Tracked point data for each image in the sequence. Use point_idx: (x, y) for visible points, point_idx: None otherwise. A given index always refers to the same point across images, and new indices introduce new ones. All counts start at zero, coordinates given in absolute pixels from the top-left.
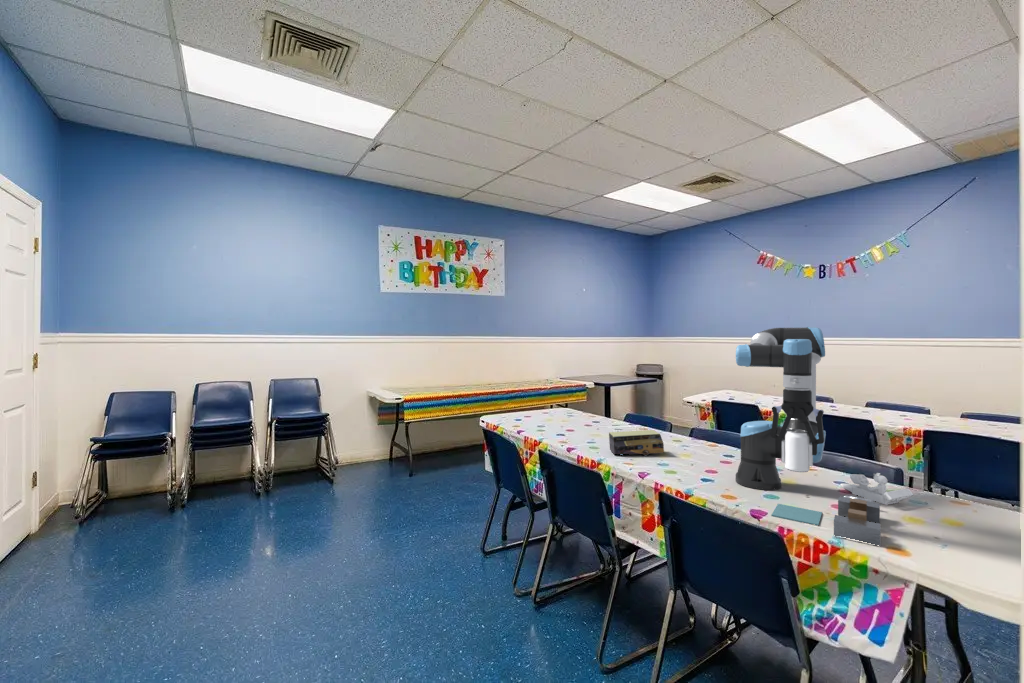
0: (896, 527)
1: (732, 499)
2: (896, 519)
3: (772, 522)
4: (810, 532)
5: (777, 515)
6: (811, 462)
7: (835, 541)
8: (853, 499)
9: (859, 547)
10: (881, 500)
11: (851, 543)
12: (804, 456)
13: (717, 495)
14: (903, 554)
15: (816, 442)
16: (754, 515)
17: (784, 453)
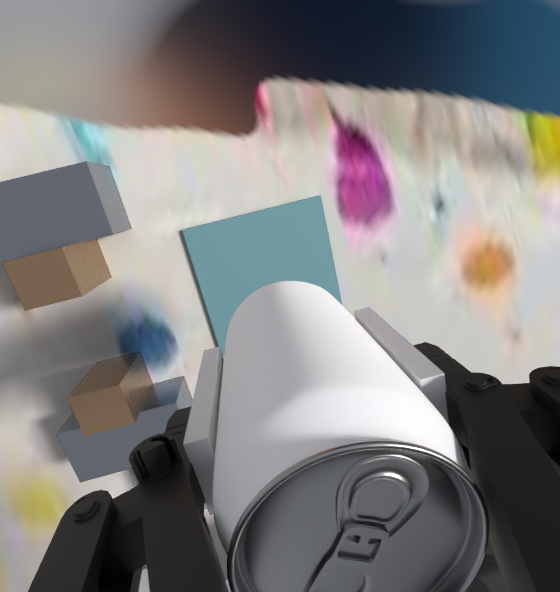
0: (37, 409)
1: (470, 251)
2: (67, 474)
3: (294, 132)
4: (173, 143)
5: (303, 203)
6: (204, 362)
7: (87, 125)
8: (120, 416)
9: (18, 135)
10: (147, 576)
11: (49, 151)
12: (235, 346)
13: (521, 249)
14: None
15: (140, 485)
16: (361, 151)
17: (375, 334)
